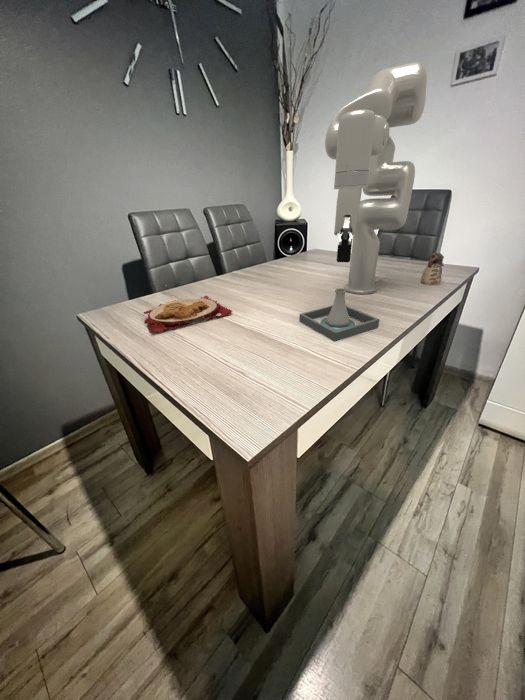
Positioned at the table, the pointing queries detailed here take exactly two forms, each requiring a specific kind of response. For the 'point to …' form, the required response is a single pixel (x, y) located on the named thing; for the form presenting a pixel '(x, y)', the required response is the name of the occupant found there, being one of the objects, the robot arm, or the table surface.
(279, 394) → the table surface
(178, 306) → the plate with food
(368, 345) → the table surface
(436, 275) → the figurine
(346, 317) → the flask
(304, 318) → the square tray with dome
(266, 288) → the table surface
